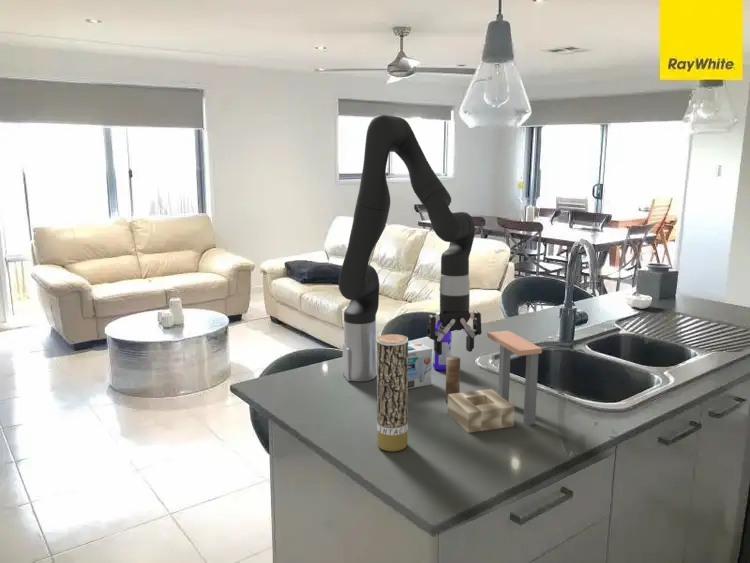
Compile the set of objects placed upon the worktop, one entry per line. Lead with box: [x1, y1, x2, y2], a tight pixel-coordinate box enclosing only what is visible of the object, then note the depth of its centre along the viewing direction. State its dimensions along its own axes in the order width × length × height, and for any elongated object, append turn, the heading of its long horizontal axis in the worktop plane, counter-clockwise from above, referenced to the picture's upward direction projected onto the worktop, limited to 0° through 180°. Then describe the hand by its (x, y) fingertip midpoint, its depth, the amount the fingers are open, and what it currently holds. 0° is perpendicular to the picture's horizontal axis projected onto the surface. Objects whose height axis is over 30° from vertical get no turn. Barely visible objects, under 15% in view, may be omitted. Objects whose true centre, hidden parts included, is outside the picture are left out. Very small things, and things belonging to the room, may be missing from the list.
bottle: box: [432, 311, 453, 371], centre depth 187 cm, size 7×6×17 cm
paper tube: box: [376, 333, 409, 453], centre depth 135 cm, size 7×7×25 cm
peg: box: [445, 356, 461, 405], centre depth 161 cm, size 4×4×12 cm
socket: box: [447, 388, 515, 433], centre depth 151 cm, size 12×12×5 cm
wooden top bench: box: [486, 330, 543, 426], centre depth 153 cm, size 6×16×19 cm, turn 17°
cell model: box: [624, 291, 653, 310], centre depth 261 cm, size 10×12×7 cm
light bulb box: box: [408, 342, 433, 390], centre depth 174 cm, size 11×7×11 cm, turn 117°
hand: (454, 352), depth 159 cm, fingers open, 8 cm apart
